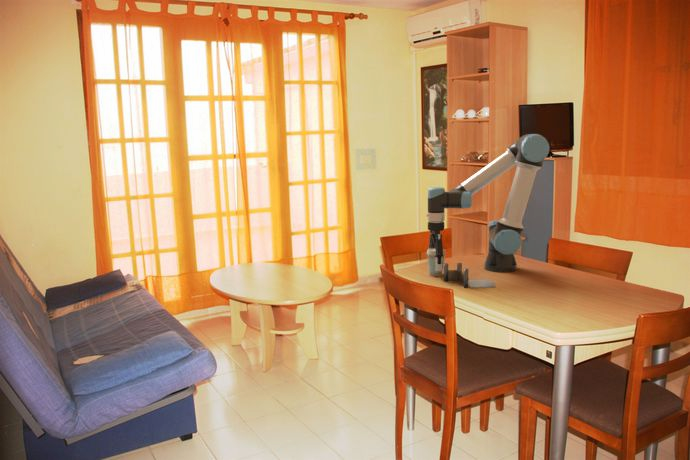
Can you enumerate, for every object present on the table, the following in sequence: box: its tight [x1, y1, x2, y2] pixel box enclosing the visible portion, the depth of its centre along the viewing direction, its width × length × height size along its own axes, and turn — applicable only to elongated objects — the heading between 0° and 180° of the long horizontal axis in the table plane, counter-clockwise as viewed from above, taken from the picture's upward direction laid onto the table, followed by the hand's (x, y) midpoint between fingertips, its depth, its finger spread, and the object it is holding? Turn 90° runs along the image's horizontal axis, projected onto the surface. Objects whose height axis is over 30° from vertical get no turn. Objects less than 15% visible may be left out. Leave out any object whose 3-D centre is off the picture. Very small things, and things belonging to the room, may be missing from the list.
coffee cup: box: [426, 247, 446, 277], centre depth 274 cm, size 8×8×12 cm
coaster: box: [468, 279, 497, 289], centre depth 257 cm, size 11×11×1 cm
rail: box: [443, 262, 469, 289], centre depth 257 cm, size 8×13×8 cm, turn 3°
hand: (435, 267), depth 274 cm, fingers open, 12 cm apart
